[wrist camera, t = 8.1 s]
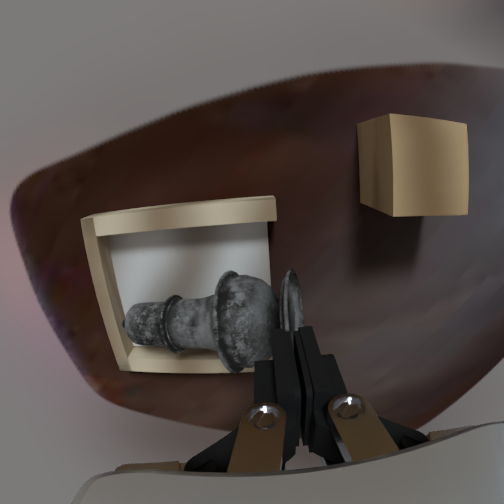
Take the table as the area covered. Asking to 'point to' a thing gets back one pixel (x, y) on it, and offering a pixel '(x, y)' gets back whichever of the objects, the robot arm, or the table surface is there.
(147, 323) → the grey chess piece
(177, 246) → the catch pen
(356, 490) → the robot arm
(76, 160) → the table surface
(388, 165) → the oak block
